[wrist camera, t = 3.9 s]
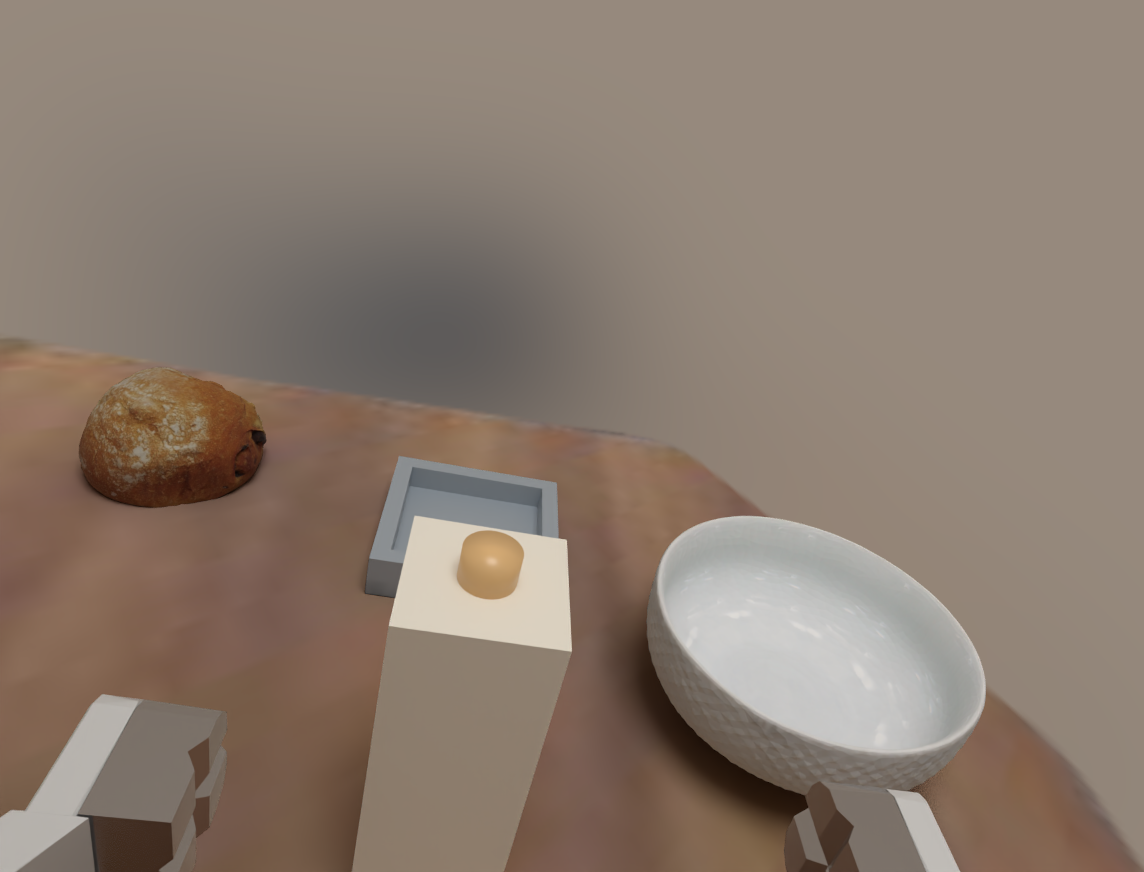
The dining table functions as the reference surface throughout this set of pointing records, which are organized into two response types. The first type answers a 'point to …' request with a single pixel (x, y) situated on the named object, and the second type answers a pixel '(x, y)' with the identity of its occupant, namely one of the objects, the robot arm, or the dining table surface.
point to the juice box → (463, 697)
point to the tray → (454, 510)
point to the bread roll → (170, 440)
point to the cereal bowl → (810, 656)
